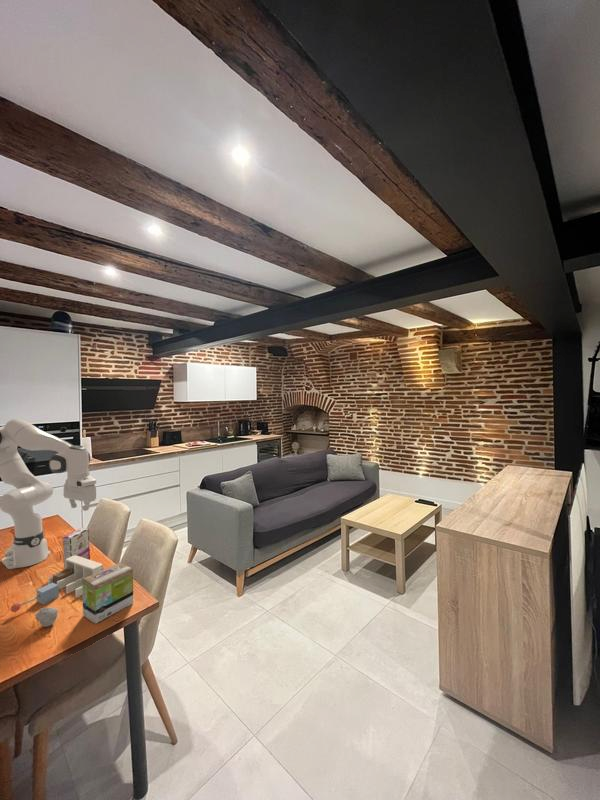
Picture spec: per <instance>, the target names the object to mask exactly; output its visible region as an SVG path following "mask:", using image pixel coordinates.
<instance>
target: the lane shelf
mask: <svg viewBox="0 0 600 800" xmlns="http://www.w3.org/2000/svg"><path fill="white" fill-rule="evenodd" d="M65 562H66V569H69V570H72V571H73V575H70V576H68V577H66V578H64V579H62V580H60V581H58V582H57V585H58V587H59V590H61V589H64V588H65V593H66V594H67V595H68V594H70V593H73V592H74V595H75V598H76V599H77V598H80V597H81V596H83V578H86V577H88V576H90V575H93V574H95V573H97V572H99V571H102V570H104V563H101V562H98V561H95V560H91V559H90V560H89V559H86V558H83V557H80V556H77V555H74V556H72V557H69V558H67V559H65ZM47 579H48V580H47V581H48V582H47V583H48V584H50V583H53V575H51V576H49V577H48V578H47ZM48 584H47V585H48Z"/></svg>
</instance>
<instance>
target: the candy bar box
mask: <svg viewBox="0 0 600 800" xmlns="http://www.w3.org/2000/svg"><path fill="white" fill-rule="evenodd" d="M62 546H63V547H62V549H63V550H62V551H63V568H64V569H63V570H65V569H66V562H65V559H67V558H69V557H72V556H74V555H77V556H80V557H83V558H86V559H89V560H91V553H90V533H89V528H84V527H82V528H78V529H77V530H75V531H73V532H70V533H68V534H67V535H65V536H62Z"/></svg>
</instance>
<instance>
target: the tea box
mask: <svg viewBox="0 0 600 800" xmlns="http://www.w3.org/2000/svg"><path fill="white" fill-rule="evenodd" d="M133 603H134V569H133V568H132V567H130V566H128V565H126V564H123V563H121V562H118V563H115V564H114V565H111V566H108V567H106V568H103V570H102V571H99V572H97V573H95V574H93V575H90V576H88V577H86V578H83V595H82V616H83V617H85V618H86V619H88V620H89V621H91V622H92V623H94V624H98V623H99V622H101V621H103V620H105V619H107V618H108V617H111V616H112V615H115V613H118V612H119V611H121V610H123V609H125V608H127V607H129V606H131V605H133Z"/></svg>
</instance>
